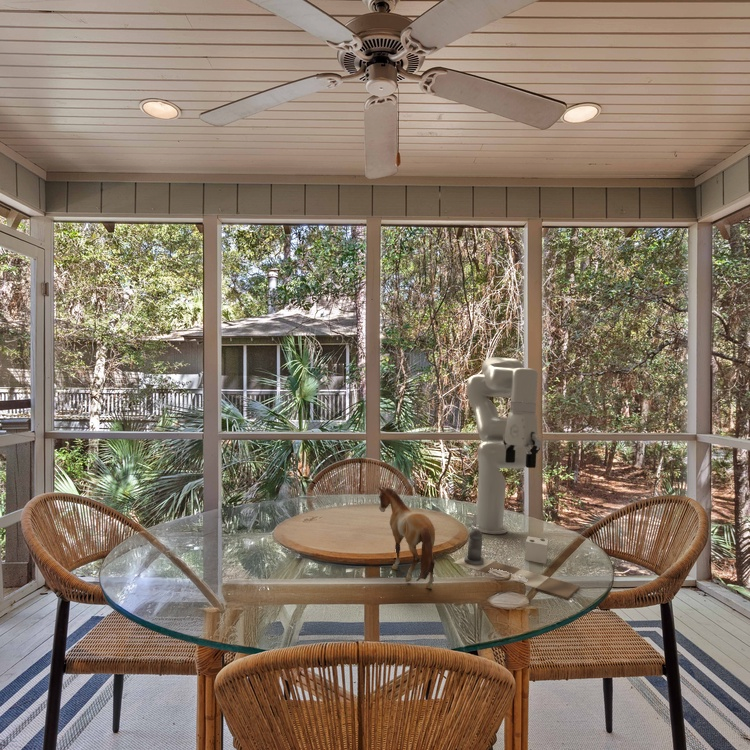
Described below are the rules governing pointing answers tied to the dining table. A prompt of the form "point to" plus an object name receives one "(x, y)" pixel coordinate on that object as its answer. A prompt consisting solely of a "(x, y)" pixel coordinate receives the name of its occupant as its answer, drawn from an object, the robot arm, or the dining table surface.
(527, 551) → the die
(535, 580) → the game board
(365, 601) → the dining table surface
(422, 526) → the horse figurine
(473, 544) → the pawn
